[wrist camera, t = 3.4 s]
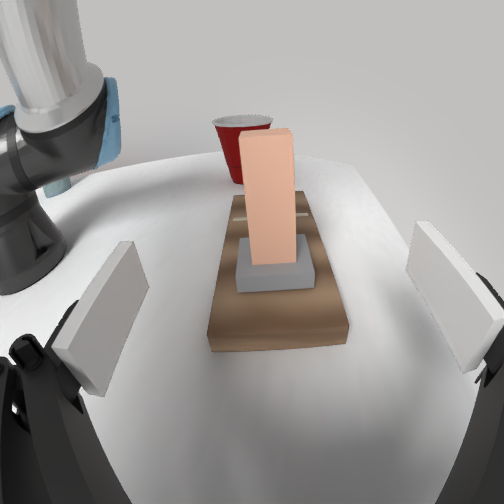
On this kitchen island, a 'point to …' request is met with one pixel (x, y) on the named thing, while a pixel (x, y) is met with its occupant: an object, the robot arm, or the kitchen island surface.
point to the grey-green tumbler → (57, 187)
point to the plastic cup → (237, 138)
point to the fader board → (275, 297)
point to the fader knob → (271, 216)
